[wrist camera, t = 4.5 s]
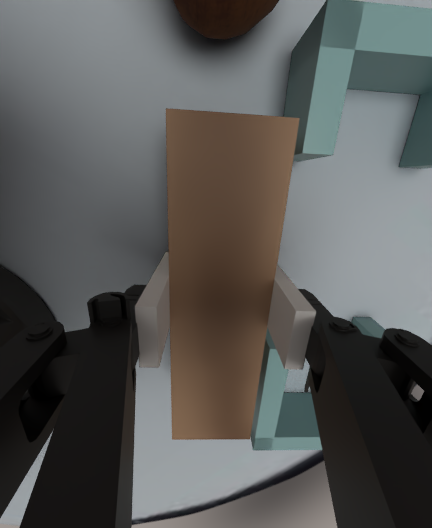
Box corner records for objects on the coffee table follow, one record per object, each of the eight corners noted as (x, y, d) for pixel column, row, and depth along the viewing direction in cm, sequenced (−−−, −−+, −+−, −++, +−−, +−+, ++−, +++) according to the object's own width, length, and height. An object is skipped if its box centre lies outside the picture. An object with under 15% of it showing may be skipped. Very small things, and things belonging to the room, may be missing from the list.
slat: (181, 367, 20) (172, 439, 15) (182, 136, 14) (165, 108, 8) (238, 367, 21) (250, 439, 15) (263, 141, 14) (299, 117, 9)
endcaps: (245, 404, 22) (253, 450, 18) (292, 51, 13) (328, -3, 9) (341, 404, 23) (368, 449, 19) (454, 65, 13) (552, 21, 10)
